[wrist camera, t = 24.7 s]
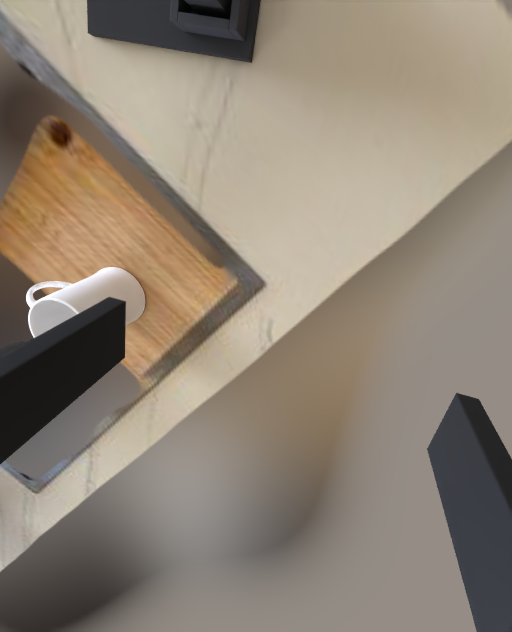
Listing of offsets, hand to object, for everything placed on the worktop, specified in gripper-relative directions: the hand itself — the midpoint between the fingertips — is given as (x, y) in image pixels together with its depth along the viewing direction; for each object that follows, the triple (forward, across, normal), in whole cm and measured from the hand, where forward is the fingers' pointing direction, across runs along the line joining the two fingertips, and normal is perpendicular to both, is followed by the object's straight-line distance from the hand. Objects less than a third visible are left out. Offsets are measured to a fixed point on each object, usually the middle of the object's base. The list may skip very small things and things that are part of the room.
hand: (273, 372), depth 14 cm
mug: (+30, -28, -14) cm, 44 cm away
